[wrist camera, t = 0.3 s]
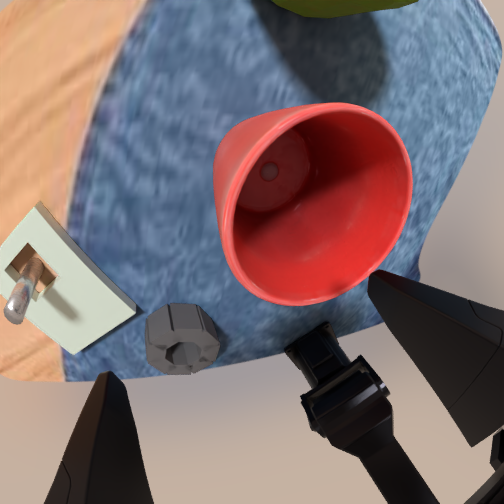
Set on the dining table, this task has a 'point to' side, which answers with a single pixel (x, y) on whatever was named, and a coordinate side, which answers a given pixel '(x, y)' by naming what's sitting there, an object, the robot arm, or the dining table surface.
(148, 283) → the dining table surface
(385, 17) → the dining table surface
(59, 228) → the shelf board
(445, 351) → the robot arm
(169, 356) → the grey octagonal ring
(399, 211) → the flower pot
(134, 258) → the dining table surface
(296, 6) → the apple
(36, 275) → the grey metallic cylinder
